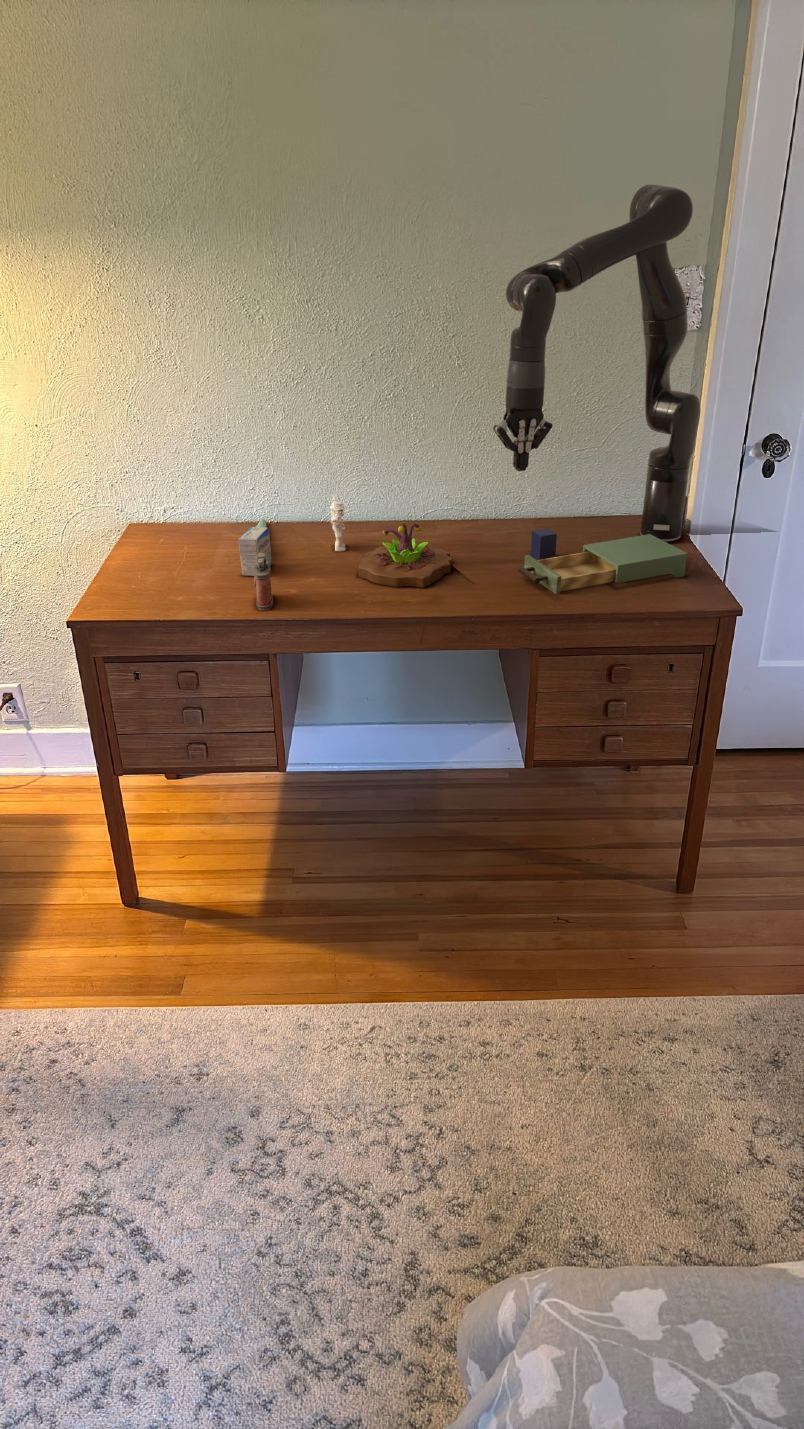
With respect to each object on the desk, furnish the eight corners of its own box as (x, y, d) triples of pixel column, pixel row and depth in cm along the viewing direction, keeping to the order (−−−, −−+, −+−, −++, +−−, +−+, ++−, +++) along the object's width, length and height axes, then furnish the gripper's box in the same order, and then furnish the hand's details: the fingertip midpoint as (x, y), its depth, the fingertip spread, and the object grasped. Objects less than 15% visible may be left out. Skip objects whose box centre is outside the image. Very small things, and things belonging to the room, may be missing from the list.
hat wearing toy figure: (332, 542, 232) (329, 492, 226) (348, 541, 232) (346, 491, 226) (330, 555, 224) (327, 504, 218) (347, 554, 224) (345, 503, 218)
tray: (541, 599, 198) (542, 579, 196) (510, 577, 209) (510, 557, 207) (628, 584, 205) (630, 564, 202) (593, 562, 216) (595, 543, 213)
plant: (345, 581, 210) (342, 530, 204) (378, 551, 226) (377, 503, 220) (433, 592, 204) (433, 540, 198) (461, 560, 220) (462, 512, 214)
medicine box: (261, 577, 213) (257, 539, 208) (241, 576, 213) (237, 537, 209) (272, 564, 219) (269, 527, 215) (253, 563, 220) (250, 526, 216)
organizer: (615, 588, 204) (618, 565, 201) (581, 567, 215) (583, 544, 212) (684, 576, 209) (687, 553, 207) (647, 556, 220) (650, 533, 218)
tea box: (538, 568, 215) (540, 536, 211) (530, 562, 218) (531, 530, 214) (554, 566, 216) (557, 533, 212) (545, 560, 219) (547, 528, 215)
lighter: (257, 595, 204) (253, 549, 199) (273, 594, 204) (269, 548, 199) (255, 610, 197) (251, 563, 192) (272, 609, 197) (268, 562, 192)
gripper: (504, 388, 189) (499, 477, 197) (564, 384, 193) (557, 471, 202) (487, 382, 195) (483, 468, 204) (545, 377, 200) (539, 462, 208)
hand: (520, 470), depth 203 cm, fingers closed
